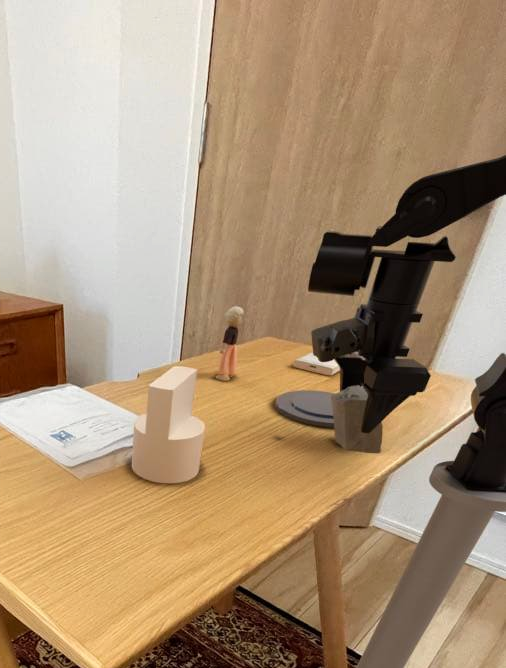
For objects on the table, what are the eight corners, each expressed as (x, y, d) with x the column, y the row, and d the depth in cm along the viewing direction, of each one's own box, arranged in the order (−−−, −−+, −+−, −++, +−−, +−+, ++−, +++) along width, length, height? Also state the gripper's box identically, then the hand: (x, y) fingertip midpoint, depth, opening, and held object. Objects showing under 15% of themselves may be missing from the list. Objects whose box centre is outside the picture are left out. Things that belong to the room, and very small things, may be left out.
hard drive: (320, 347, 108) (294, 358, 101) (357, 355, 104) (333, 367, 96) (318, 355, 109) (292, 367, 102) (355, 363, 105) (331, 376, 97)
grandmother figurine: (233, 383, 93) (245, 311, 86) (212, 381, 94) (223, 309, 86) (236, 371, 99) (249, 303, 92) (217, 369, 100) (228, 301, 92)
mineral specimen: (351, 424, 76) (377, 377, 70) (380, 460, 71) (411, 412, 65) (308, 425, 75) (331, 378, 69) (334, 462, 70) (361, 413, 64)
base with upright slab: (147, 446, 71) (153, 361, 64) (207, 460, 67) (221, 372, 60) (120, 473, 64) (123, 381, 57) (185, 489, 61) (197, 395, 54)
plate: (351, 396, 89) (353, 390, 88) (383, 430, 76) (386, 423, 76) (267, 392, 89) (268, 386, 89) (286, 426, 77) (287, 419, 77)
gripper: (308, 285, 69) (282, 394, 78) (352, 314, 54) (314, 445, 63) (389, 287, 68) (353, 396, 78) (457, 318, 53) (403, 449, 63)
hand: (353, 419), depth 70 cm, fingers open, 9 cm apart
